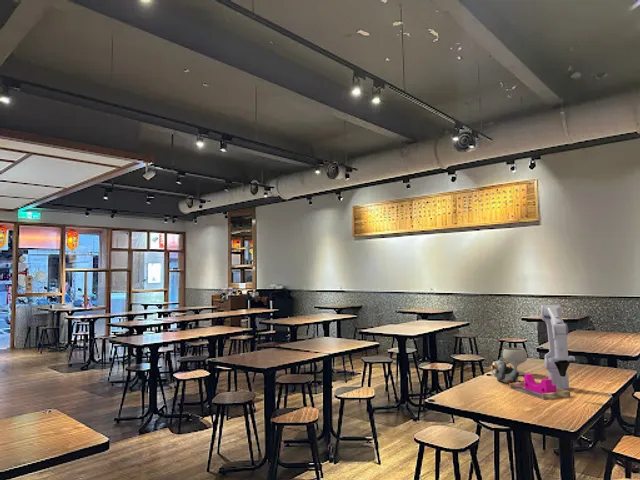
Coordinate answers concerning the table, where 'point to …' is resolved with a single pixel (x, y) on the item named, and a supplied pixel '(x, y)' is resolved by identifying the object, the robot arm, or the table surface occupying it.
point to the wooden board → (521, 387)
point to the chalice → (515, 357)
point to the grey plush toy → (504, 372)
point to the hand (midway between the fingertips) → (562, 376)
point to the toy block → (539, 385)
